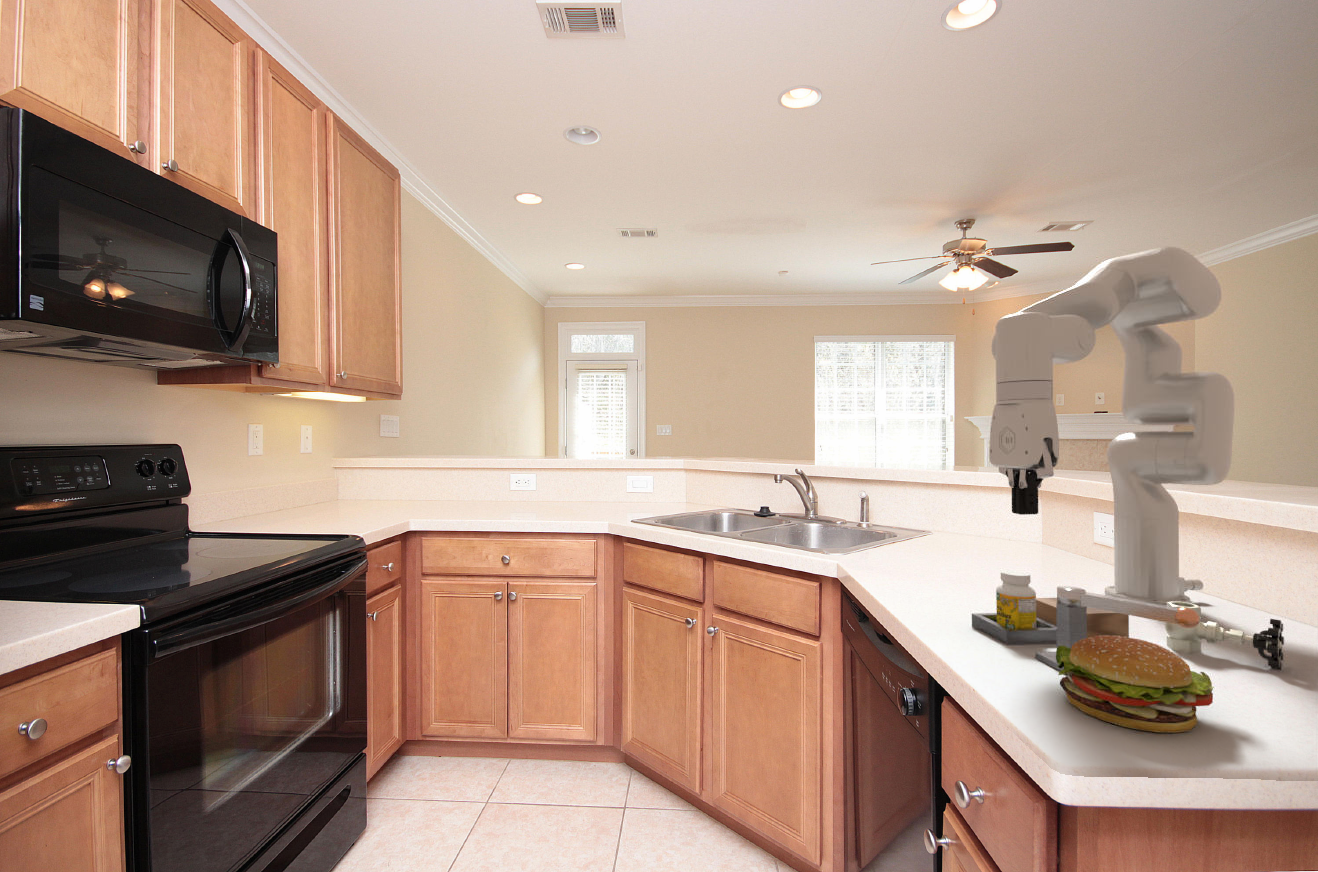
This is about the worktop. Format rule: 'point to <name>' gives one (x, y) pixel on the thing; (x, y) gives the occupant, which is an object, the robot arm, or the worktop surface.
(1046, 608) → the walnut block
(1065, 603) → the handle
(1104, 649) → the food
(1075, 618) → the grey upright pillar
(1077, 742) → the worktop surface
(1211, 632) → the valve
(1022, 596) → the supplement bottle
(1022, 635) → the shallow grey tray
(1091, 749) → the worktop surface
